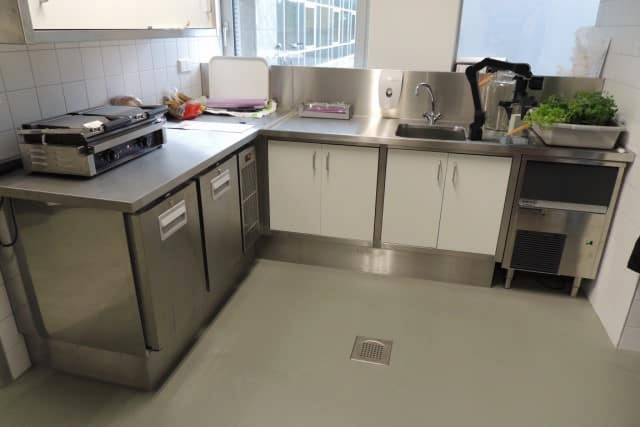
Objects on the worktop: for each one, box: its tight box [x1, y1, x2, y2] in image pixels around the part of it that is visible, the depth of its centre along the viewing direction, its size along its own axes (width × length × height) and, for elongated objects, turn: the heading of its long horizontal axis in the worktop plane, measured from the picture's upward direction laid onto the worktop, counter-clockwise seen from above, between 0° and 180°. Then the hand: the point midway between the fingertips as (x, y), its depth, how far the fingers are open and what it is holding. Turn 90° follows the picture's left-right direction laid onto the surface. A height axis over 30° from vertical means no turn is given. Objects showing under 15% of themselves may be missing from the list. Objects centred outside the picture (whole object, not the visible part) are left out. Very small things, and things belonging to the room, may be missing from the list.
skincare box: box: [507, 113, 526, 138], centre depth 259 cm, size 6×4×12 cm
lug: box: [527, 134, 535, 144], centre depth 241 cm, size 2×3×5 cm
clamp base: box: [497, 131, 538, 148], centre depth 244 cm, size 16×11×6 cm
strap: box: [503, 123, 531, 137], centre depth 242 cm, size 14×3×1 cm, turn 97°
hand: (515, 120), depth 240 cm, fingers open, 6 cm apart
